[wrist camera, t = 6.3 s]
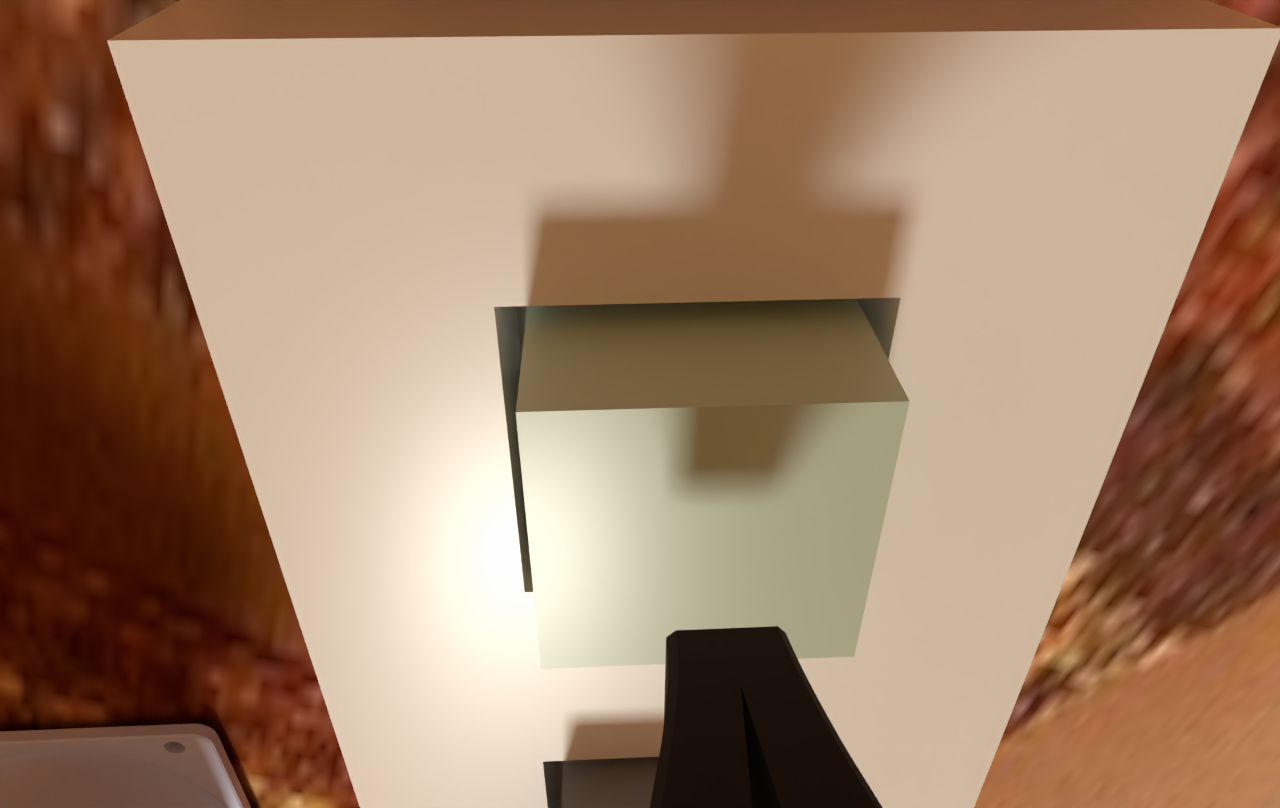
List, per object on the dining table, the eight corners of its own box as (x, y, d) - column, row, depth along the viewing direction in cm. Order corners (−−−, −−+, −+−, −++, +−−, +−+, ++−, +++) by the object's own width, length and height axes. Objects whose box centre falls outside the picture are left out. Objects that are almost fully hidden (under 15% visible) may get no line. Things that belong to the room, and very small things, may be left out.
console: (433, 826, 27) (412, 969, 24) (222, -23, 13) (108, 40, 10) (881, 806, 28) (920, 942, 25) (1121, -30, 14) (1283, 27, 11)
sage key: (547, 536, 16) (541, 668, 14) (528, 297, 14) (515, 411, 11) (815, 527, 17) (854, 656, 14) (852, 290, 14) (909, 401, 11)
